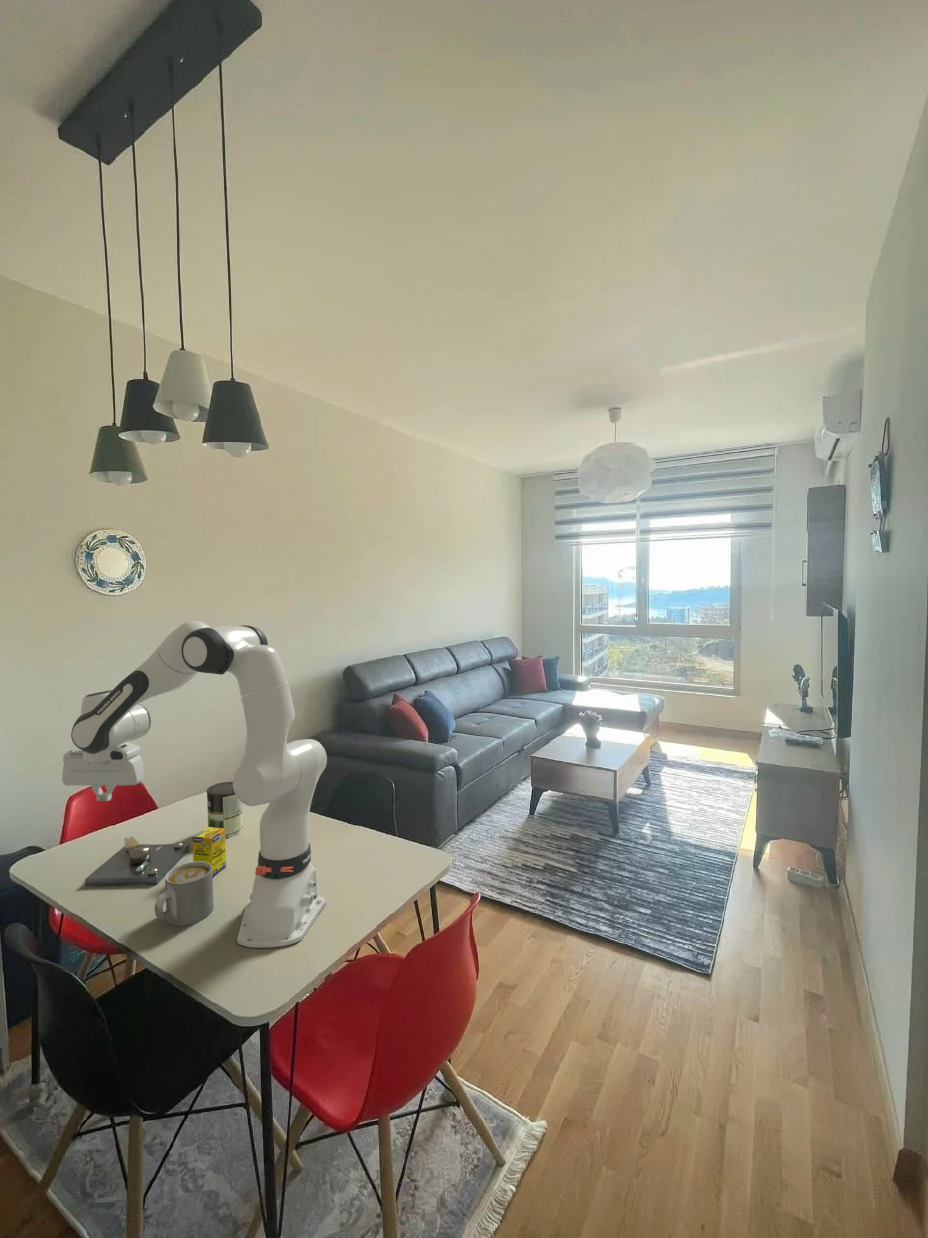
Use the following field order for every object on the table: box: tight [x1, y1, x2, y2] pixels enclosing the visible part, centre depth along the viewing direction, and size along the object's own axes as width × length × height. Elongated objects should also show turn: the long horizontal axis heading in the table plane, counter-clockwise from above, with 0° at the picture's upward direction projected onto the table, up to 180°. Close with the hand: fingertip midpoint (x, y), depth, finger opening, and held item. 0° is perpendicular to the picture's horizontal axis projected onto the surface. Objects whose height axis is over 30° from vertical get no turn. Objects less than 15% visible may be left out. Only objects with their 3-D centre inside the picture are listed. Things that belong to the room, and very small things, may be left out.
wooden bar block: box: [123, 836, 151, 864], centre depth 151 cm, size 12×5×3 cm, turn 48°
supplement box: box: [192, 826, 227, 878], centre depth 146 cm, size 6×6×11 cm
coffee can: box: [206, 781, 244, 839], centre depth 170 cm, size 10×10×14 cm
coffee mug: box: [154, 861, 214, 927], centre depth 126 cm, size 13×10×10 cm
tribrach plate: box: [84, 841, 190, 888], centre depth 148 cm, size 18×18×3 cm
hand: (104, 800), depth 147 cm, fingers closed
